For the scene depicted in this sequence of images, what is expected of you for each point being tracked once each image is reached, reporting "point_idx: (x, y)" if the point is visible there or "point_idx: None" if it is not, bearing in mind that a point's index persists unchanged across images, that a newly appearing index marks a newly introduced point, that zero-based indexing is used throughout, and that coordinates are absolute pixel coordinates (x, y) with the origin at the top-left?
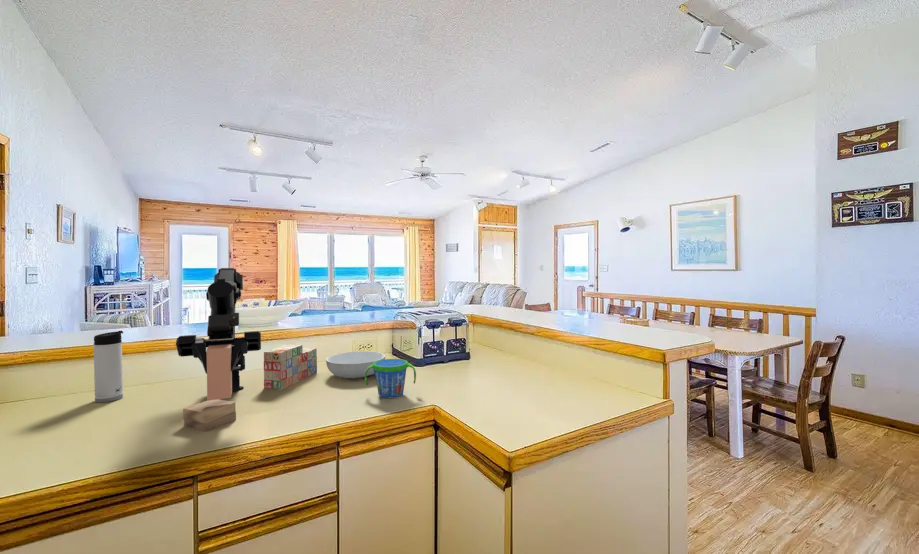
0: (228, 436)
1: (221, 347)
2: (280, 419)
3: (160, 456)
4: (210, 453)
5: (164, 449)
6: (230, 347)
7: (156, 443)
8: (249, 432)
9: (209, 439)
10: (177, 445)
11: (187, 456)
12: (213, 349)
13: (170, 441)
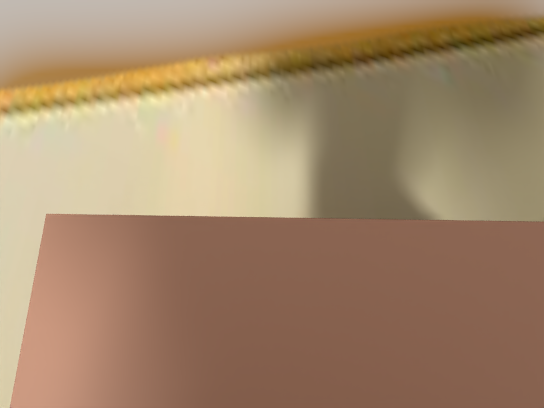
0: (282, 158)
1: (242, 403)
2: None
3: (465, 84)
4: (325, 50)
5: (468, 134)
6: (33, 303)
7: (513, 200)
8: (219, 163)
9: (339, 158)
10: (433, 150)
11: (385, 54)
12: (439, 225)
13: (467, 198)
